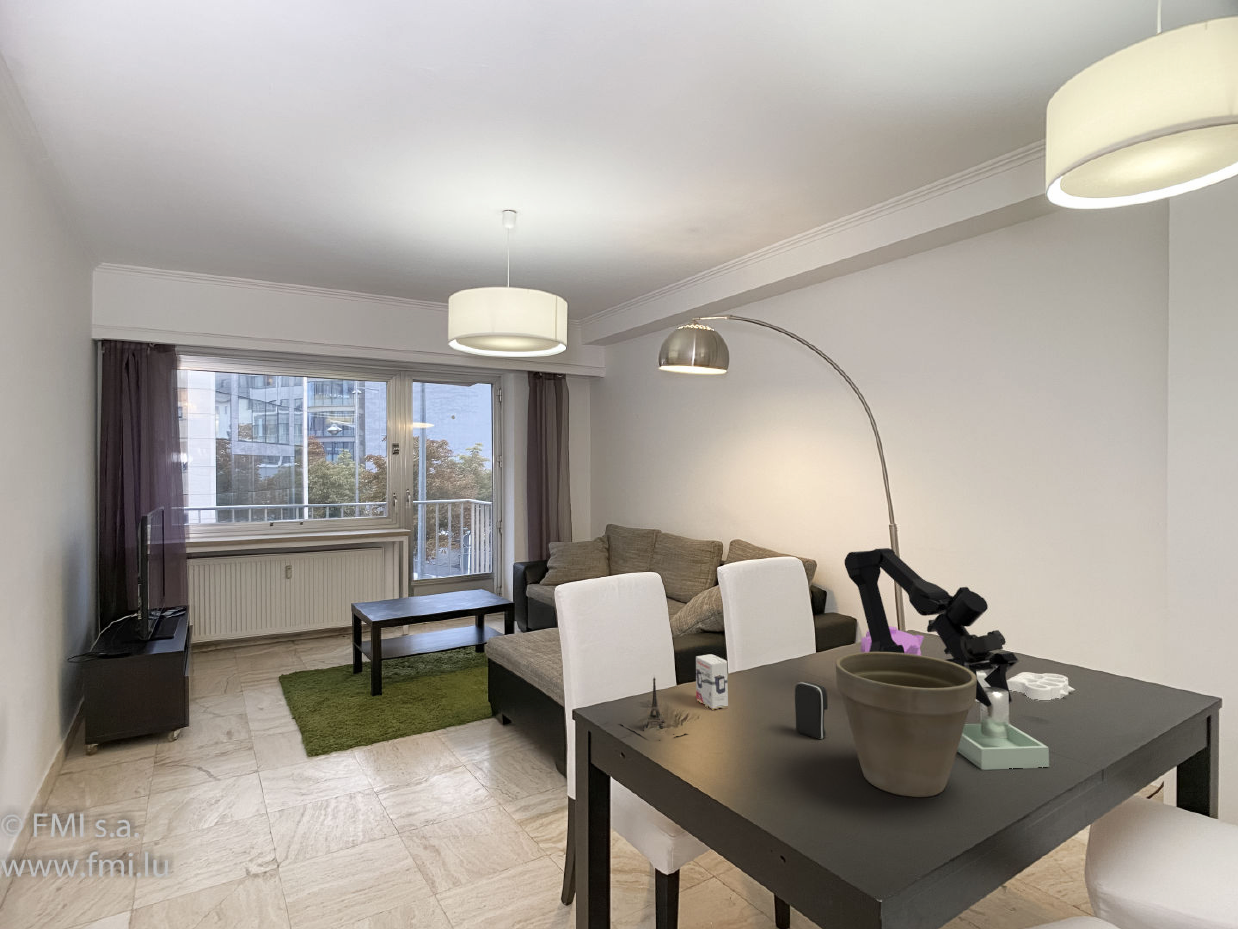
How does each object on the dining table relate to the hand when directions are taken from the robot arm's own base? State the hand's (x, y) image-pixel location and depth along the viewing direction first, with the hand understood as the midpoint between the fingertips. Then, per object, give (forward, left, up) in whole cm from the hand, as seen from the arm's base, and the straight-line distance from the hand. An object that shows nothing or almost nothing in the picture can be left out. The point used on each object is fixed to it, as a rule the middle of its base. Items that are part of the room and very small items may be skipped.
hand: (999, 704), depth 143 cm
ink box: (-53, +37, -11) cm, 66 cm away
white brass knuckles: (+36, +41, -11) cm, 56 cm away
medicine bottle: (+18, +36, -11) cm, 42 cm away
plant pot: (-24, -9, -11) cm, 28 cm away
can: (0, +1, -7) cm, 7 cm away
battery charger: (-34, +15, -11) cm, 39 cm away
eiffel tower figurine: (-70, +21, -12) cm, 74 cm away
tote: (0, +1, -11) cm, 11 cm away
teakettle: (+7, +65, -11) cm, 66 cm away
